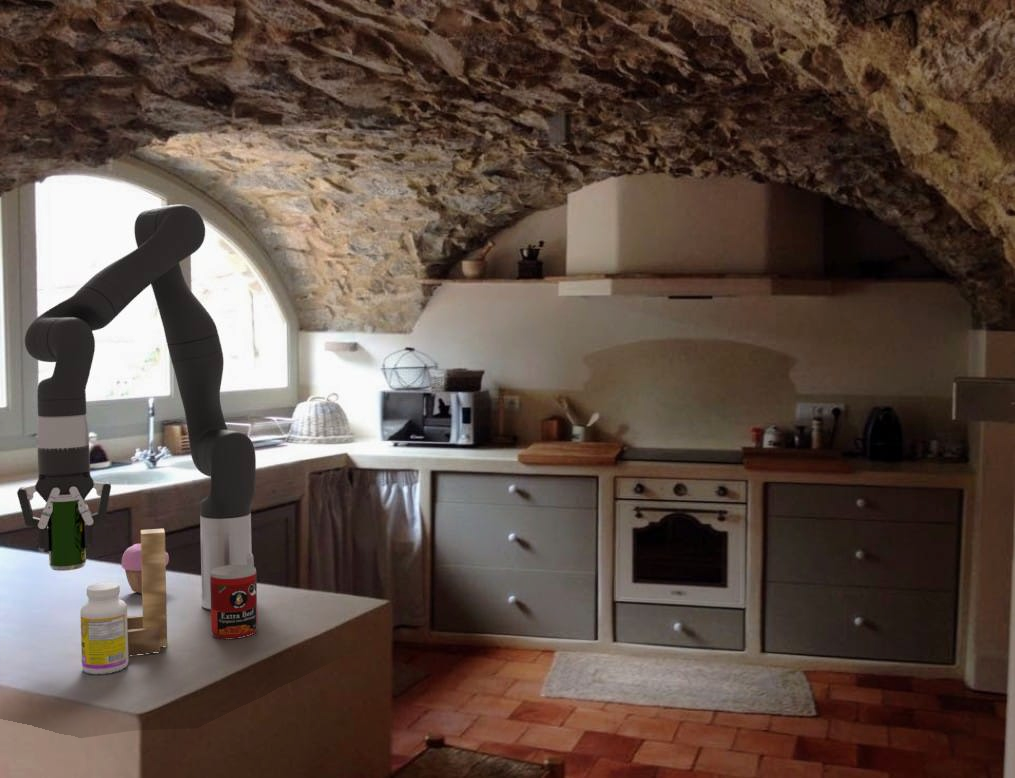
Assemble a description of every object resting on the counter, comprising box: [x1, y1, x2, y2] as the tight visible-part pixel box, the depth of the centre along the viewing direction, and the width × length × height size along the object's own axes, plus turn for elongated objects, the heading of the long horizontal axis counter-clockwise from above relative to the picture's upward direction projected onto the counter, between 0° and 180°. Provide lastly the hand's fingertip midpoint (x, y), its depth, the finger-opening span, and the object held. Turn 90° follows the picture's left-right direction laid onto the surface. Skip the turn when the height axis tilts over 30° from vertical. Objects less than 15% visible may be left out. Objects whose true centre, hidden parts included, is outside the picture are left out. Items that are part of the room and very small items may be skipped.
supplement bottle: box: [80, 582, 129, 675], centre depth 153 cm, size 7×7×13 cm
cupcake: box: [121, 542, 170, 595], centre depth 198 cm, size 9×9×10 cm
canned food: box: [210, 565, 258, 640], centre depth 171 cm, size 8×8×11 cm
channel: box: [127, 614, 161, 657], centre depth 163 cm, size 10×9×4 cm
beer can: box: [47, 494, 87, 572], centre depth 159 cm, size 5×5×12 cm
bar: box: [140, 528, 168, 648], centre depth 164 cm, size 4×4×19 cm
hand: (67, 548), depth 159 cm, fingers closed on beer can, 5 cm apart
